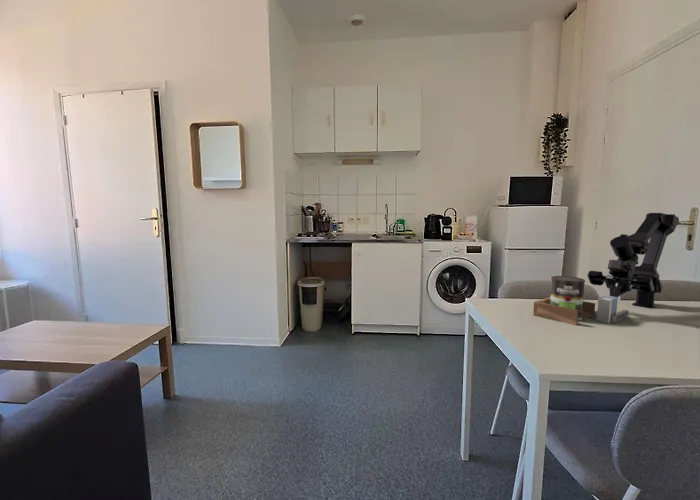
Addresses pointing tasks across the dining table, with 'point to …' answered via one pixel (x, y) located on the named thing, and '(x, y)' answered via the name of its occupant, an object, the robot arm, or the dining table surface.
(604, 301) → the blue block white cap
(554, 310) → the walnut bay
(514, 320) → the dining table surface
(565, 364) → the dining table surface
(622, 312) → the rails
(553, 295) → the coffee can
